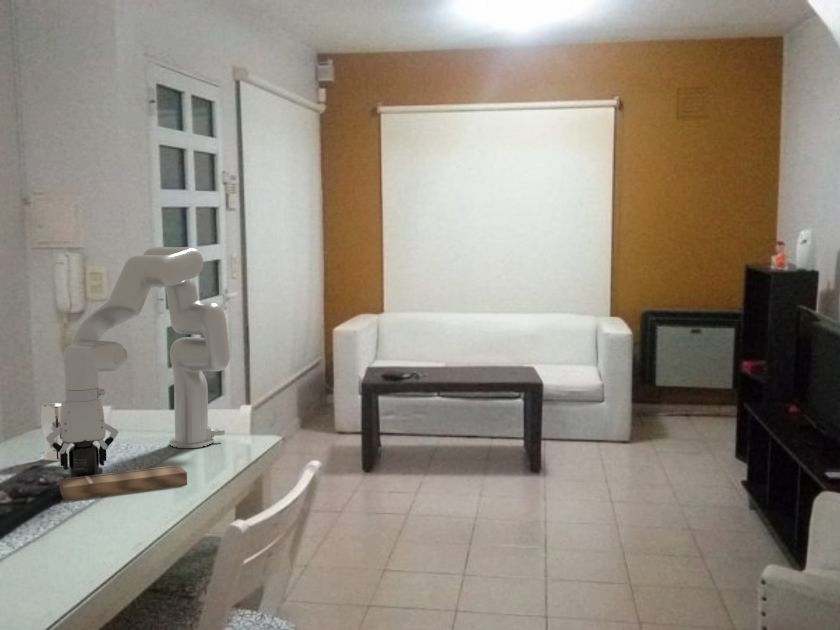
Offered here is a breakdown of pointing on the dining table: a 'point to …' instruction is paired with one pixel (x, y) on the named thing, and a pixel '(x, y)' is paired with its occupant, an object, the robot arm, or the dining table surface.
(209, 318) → the robot arm
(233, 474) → the dining table surface
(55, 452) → the beer glass
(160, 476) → the walnut plank
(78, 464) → the supplement bottle
